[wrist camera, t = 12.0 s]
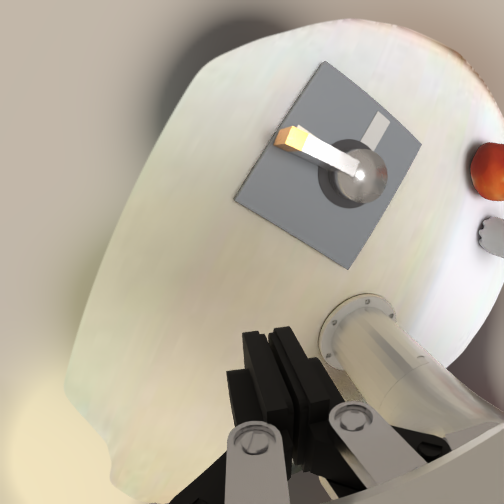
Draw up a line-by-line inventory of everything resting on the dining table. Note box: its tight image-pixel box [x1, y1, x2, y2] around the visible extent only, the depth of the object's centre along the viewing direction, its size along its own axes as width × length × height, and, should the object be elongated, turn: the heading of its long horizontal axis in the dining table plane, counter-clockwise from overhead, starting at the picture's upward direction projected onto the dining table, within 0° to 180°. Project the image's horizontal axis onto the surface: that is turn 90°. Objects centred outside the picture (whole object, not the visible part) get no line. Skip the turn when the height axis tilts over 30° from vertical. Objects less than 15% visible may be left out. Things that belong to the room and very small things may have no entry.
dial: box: [273, 126, 388, 203], centre depth 33 cm, size 13×6×5 cm, turn 67°
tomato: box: [470, 142, 504, 201], centre depth 37 cm, size 9×9×8 cm
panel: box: [234, 61, 422, 270], centre depth 37 cm, size 17×20×2 cm
